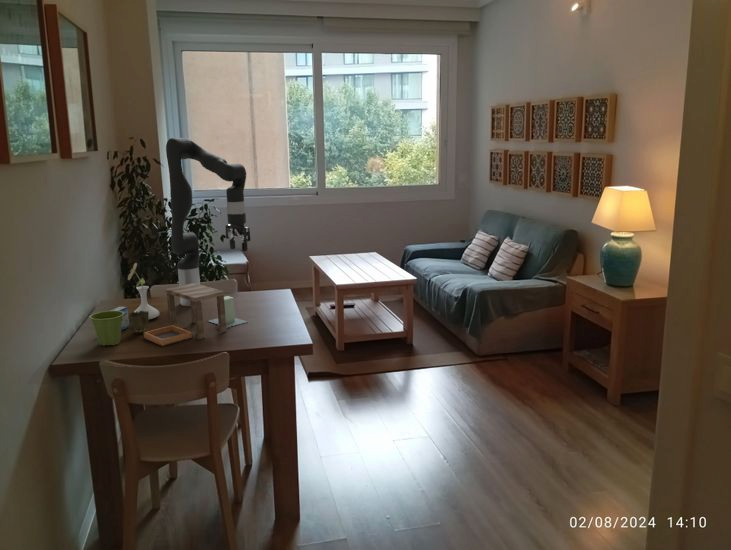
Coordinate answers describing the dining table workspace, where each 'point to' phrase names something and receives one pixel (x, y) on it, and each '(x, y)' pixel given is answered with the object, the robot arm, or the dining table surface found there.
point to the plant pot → (108, 326)
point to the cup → (139, 320)
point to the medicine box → (125, 317)
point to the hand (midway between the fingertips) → (238, 250)
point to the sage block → (229, 309)
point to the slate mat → (236, 322)
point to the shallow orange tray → (167, 335)
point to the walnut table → (196, 304)
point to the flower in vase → (143, 297)
